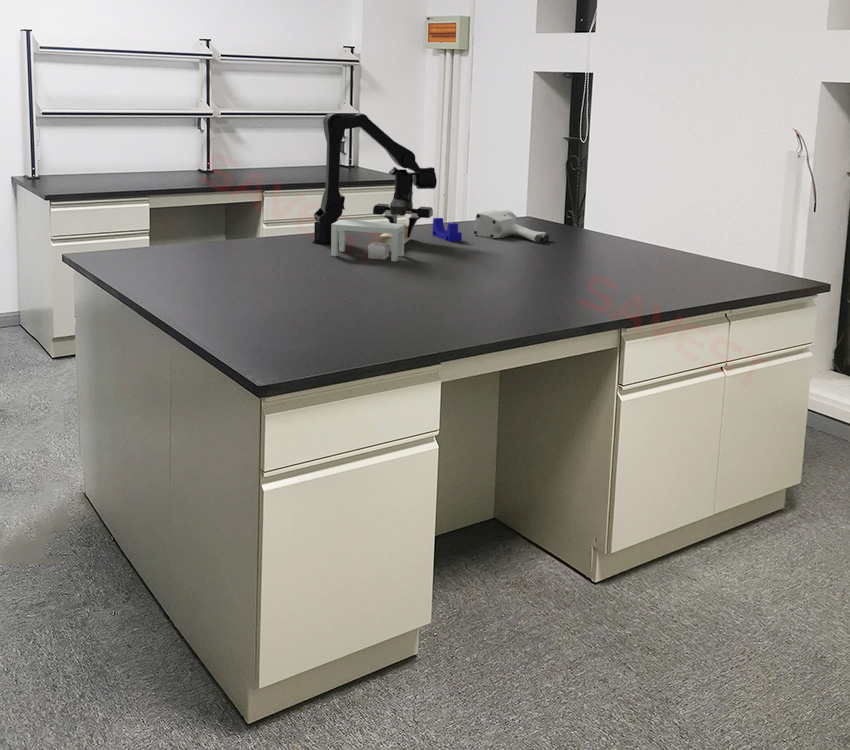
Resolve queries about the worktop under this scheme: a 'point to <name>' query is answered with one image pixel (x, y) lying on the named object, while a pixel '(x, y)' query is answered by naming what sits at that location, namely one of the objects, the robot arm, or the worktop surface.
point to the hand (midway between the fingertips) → (402, 237)
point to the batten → (388, 237)
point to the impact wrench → (504, 226)
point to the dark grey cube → (378, 250)
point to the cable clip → (448, 235)
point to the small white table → (365, 226)
